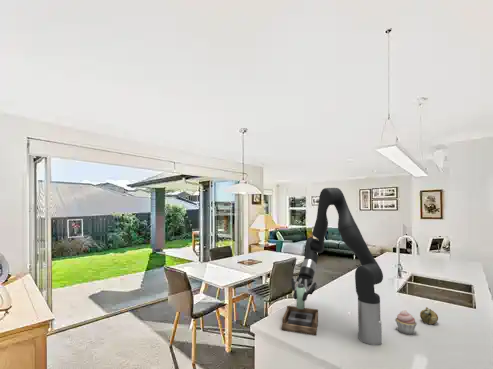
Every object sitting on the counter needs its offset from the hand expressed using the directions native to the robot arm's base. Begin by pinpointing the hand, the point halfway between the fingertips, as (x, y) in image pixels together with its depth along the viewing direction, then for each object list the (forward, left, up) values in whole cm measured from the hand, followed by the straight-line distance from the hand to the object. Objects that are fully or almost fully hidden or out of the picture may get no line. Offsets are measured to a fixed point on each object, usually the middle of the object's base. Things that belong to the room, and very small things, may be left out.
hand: (299, 299), depth 134 cm
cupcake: (-50, -13, -14) cm, 53 cm away
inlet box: (-1, -2, -13) cm, 13 cm away
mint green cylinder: (0, -2, -5) cm, 5 cm away
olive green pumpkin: (-64, -28, -14) cm, 71 cm away
